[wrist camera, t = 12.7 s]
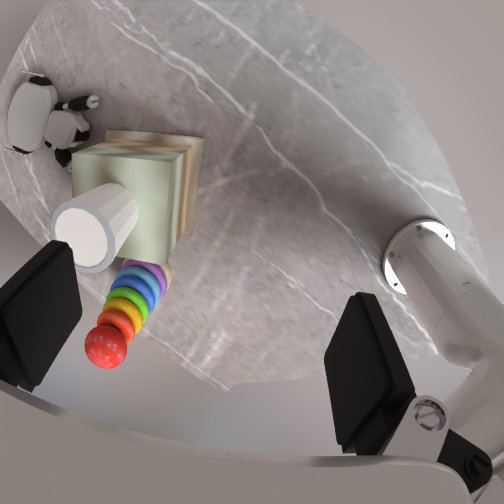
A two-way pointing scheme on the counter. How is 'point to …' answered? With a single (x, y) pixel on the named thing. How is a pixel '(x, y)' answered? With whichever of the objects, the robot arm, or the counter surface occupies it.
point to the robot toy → (46, 119)
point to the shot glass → (95, 225)
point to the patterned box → (146, 185)
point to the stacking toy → (126, 310)
